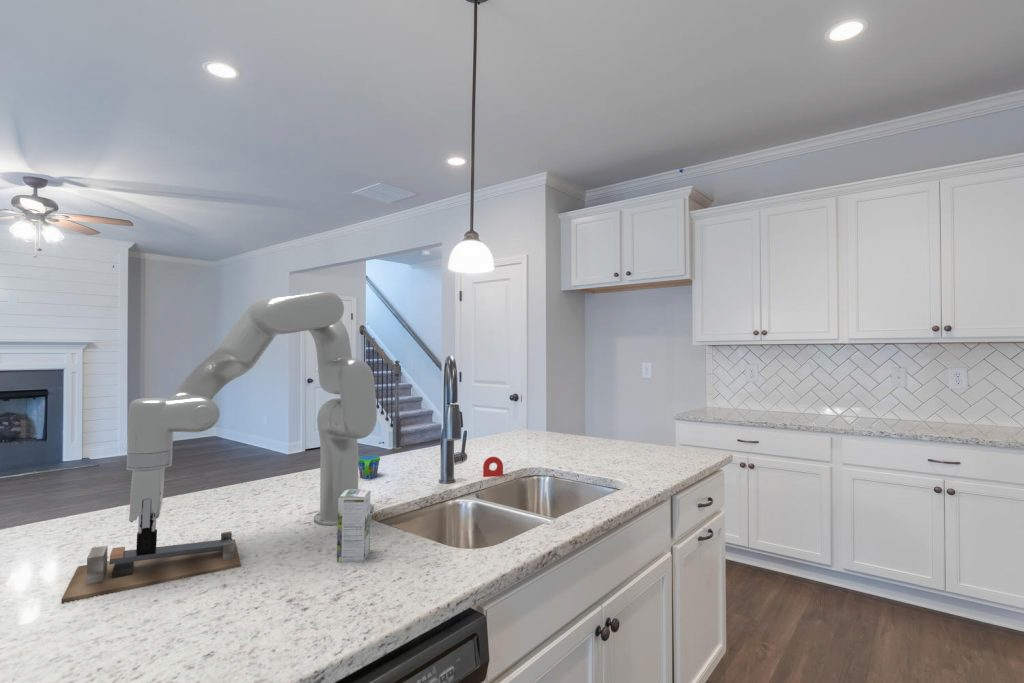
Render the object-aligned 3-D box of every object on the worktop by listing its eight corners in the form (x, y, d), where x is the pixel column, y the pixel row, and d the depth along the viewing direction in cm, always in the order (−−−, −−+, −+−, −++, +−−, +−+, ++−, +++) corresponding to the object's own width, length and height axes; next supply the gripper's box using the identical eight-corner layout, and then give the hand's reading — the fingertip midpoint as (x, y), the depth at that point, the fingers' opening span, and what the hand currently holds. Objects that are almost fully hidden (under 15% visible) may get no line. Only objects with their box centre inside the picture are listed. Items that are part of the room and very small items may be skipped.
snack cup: (361, 474, 184) (361, 454, 184) (382, 474, 184) (382, 453, 184) (353, 483, 173) (353, 461, 173) (376, 483, 173) (376, 460, 173)
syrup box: (343, 555, 113) (343, 489, 113) (370, 554, 113) (370, 488, 113) (336, 566, 107) (336, 496, 107) (365, 565, 108) (365, 495, 108)
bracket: (485, 483, 174) (485, 459, 174) (483, 479, 178) (483, 456, 178) (519, 481, 176) (519, 458, 176) (517, 478, 180) (517, 455, 180)
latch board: (234, 544, 119) (235, 518, 119) (240, 569, 105) (241, 540, 105) (78, 572, 104) (78, 542, 104) (61, 606, 90) (61, 571, 91)
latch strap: (231, 543, 114) (232, 534, 114) (233, 551, 110) (234, 541, 110) (112, 557, 103) (113, 547, 103) (108, 567, 98) (109, 555, 98)
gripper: (130, 455, 108) (126, 543, 108) (122, 468, 96) (118, 568, 95) (173, 452, 112) (170, 537, 112) (171, 464, 100) (167, 560, 99)
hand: (146, 551), depth 103 cm, fingers closed
